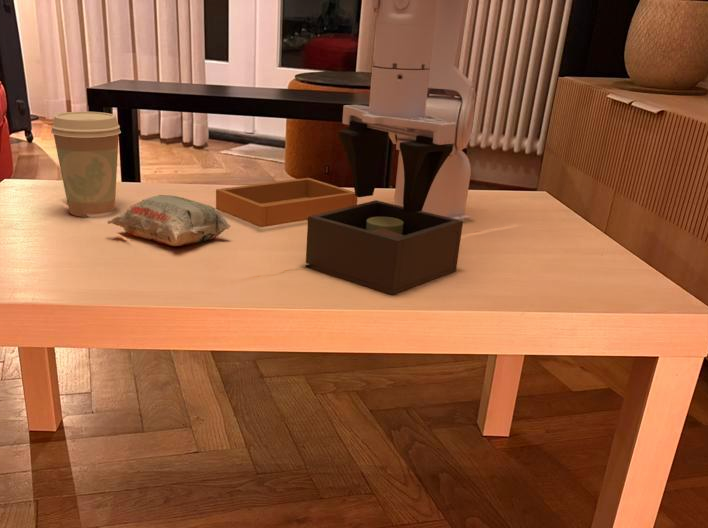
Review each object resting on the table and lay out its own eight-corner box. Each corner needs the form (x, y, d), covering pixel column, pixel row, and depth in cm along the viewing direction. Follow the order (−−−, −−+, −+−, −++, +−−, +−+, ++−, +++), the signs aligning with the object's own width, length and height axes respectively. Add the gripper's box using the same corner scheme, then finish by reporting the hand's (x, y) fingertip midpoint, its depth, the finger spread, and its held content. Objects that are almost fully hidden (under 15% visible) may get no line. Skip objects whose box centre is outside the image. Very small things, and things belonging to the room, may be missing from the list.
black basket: (371, 246, 91) (375, 199, 88) (456, 270, 84) (463, 220, 81) (305, 266, 83) (307, 216, 81) (392, 295, 76) (398, 240, 74)
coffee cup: (46, 216, 98) (36, 118, 92) (76, 201, 105) (68, 109, 100) (109, 222, 96) (103, 122, 91) (135, 206, 104) (130, 113, 98)
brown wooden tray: (307, 198, 111) (308, 177, 110) (356, 215, 104) (358, 192, 102) (215, 211, 103) (215, 189, 102) (261, 230, 95) (261, 206, 94)
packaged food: (177, 260, 84) (176, 215, 81) (107, 238, 90) (105, 195, 88) (232, 245, 90) (232, 203, 87) (163, 225, 96) (162, 185, 94)
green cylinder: (382, 249, 88) (386, 214, 86) (407, 258, 85) (411, 223, 83) (356, 254, 86) (359, 219, 84) (380, 264, 83) (384, 228, 81)
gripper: (324, 62, 80) (316, 193, 86) (425, 75, 69) (408, 223, 76) (374, 60, 84) (364, 186, 90) (477, 73, 73) (457, 214, 79)
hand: (387, 203), depth 83 cm, fingers open, 7 cm apart
